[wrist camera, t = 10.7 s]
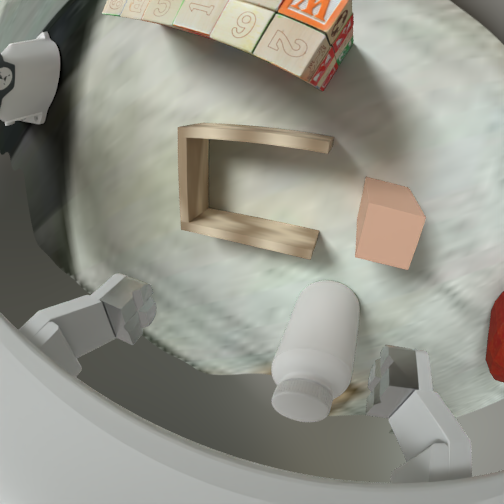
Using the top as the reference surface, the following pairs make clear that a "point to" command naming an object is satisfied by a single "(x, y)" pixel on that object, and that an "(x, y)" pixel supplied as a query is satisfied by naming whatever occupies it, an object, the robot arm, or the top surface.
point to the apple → (496, 340)
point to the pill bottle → (316, 351)
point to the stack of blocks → (261, 29)
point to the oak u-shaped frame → (227, 223)
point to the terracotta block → (388, 224)
